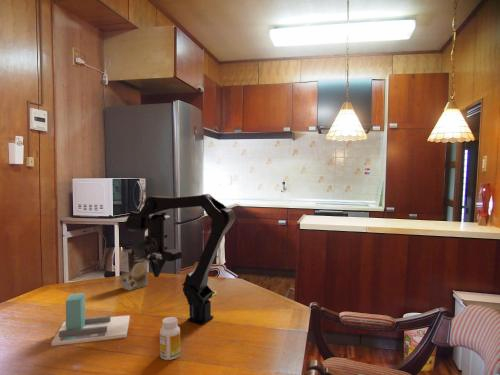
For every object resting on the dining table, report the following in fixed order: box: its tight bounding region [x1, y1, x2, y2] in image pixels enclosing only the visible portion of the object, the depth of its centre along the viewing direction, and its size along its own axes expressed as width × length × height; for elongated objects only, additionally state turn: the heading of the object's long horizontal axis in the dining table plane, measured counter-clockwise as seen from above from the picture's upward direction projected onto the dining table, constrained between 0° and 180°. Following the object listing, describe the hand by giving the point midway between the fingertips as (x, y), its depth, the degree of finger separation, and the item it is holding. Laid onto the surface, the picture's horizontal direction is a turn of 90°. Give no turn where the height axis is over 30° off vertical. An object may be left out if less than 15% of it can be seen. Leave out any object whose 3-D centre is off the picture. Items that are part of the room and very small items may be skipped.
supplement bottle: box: [159, 316, 181, 361], centre depth 93 cm, size 5×5×10 cm
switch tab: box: [65, 292, 86, 330], centre depth 105 cm, size 4×6×10 cm, turn 15°
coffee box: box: [121, 248, 149, 291], centre depth 148 cm, size 9×6×16 cm
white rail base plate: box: [51, 315, 131, 347], centre depth 107 cm, size 20×14×2 cm
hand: (156, 276), depth 119 cm, fingers closed
